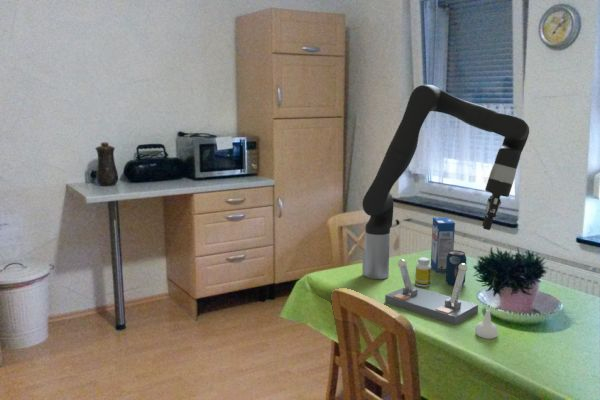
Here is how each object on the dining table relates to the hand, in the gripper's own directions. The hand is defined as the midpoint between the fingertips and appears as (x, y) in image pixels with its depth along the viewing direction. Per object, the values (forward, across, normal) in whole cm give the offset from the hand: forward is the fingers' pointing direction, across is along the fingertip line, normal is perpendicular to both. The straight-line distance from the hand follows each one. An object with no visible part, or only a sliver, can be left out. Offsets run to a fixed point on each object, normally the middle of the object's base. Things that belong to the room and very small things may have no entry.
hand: (485, 228), depth 179 cm
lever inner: (+28, +2, -17) cm, 33 cm away
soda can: (+25, -20, -3) cm, 32 cm away
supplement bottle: (+28, -16, -14) cm, 35 cm away
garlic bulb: (+28, +22, +8) cm, 37 cm away
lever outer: (+26, +9, -3) cm, 27 cm away
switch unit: (+30, +5, -9) cm, 31 cm away
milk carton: (+24, -37, -9) cm, 45 cm away
